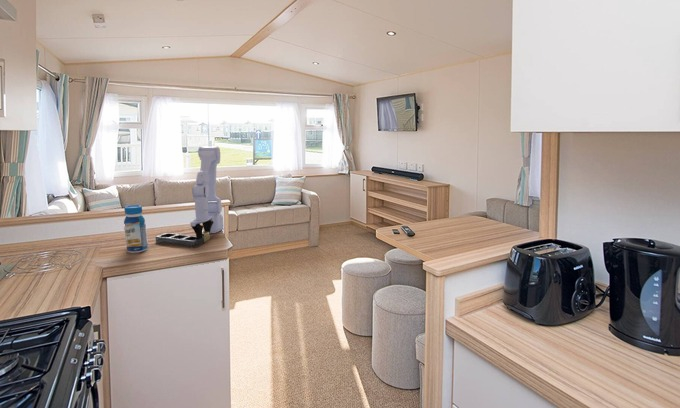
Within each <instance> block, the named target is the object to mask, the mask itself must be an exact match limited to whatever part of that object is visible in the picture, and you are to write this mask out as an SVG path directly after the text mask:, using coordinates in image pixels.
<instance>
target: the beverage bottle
mask: <svg viewBox="0 0 680 408" xmlns="http://www.w3.org/2000/svg"><path fill="white" fill-rule="evenodd" d="M123 211H124V214H125V218H124V220H123V223H124V228H123V230H124V234H125V245H126V251H127V252H128V253H131V254H137V253H142V252H145V251H147V250H148V244H147V240H148V237H147V238H146V229H147V224H146V225H145V224H144V222H146V220H145V217H144V216H143V215H142V214H143V206H142V205H140V204H131V205H126V206H125V207H124V210H123Z"/></svg>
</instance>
